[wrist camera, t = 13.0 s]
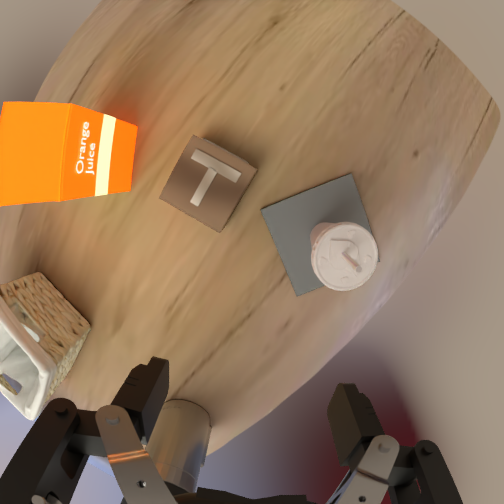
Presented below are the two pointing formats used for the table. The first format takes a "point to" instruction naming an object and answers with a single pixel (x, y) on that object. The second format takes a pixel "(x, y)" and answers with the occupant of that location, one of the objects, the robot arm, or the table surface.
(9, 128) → the orange juice
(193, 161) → the lettered block
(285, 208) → the slate pad
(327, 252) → the smoothie
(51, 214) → the table surface
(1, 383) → the storage basket
